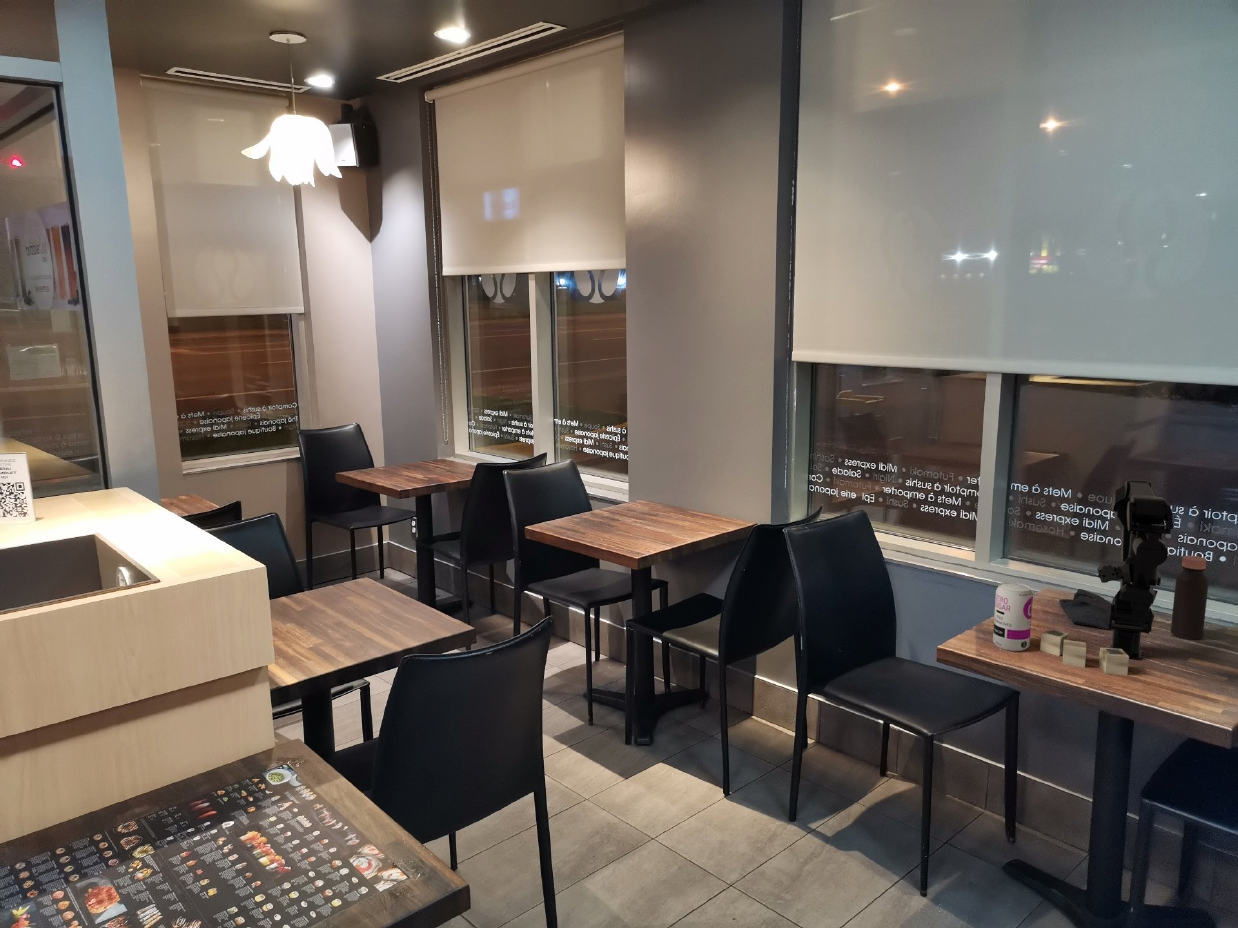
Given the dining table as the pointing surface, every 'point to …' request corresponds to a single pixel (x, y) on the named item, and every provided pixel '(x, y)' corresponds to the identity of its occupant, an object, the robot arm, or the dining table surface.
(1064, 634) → the labelled block
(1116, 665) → the labelled block
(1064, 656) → the plain block
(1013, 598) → the supplement can
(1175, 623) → the bottle
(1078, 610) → the dark slate chunk
